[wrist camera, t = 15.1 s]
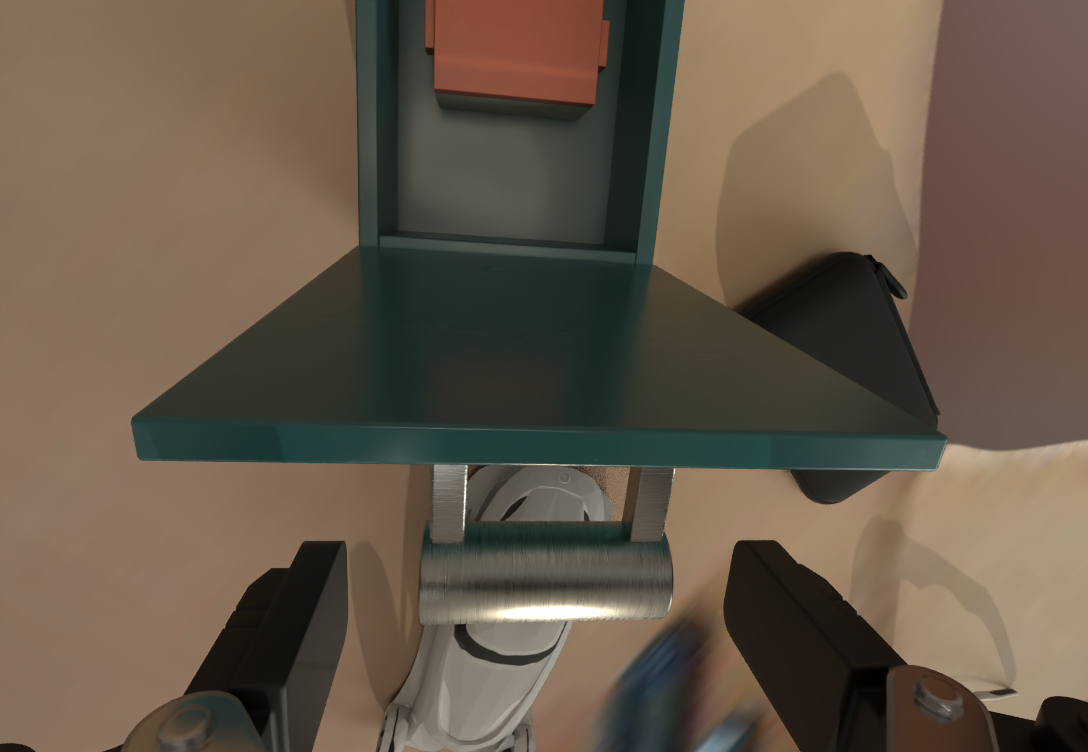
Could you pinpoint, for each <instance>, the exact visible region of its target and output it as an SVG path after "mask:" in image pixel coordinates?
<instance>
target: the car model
mask: <svg viewBox="0 0 1088 752" xmlns="http://www.w3.org/2000/svg"><path fill="white" fill-rule="evenodd" d="M466 521H612V505H611V501H610V499H609V497H608V496H607V495H606V494H605V493H604V492H603V491H601V490H600V488H599V486H598V485H597V483H596V482H595V480H594V479H593V478H592V477H590V476H589V475H587V474H584V473H582V472H580V471H578V470H576V469H573V468H569V467H565V466H502V465H487V466H485V467H484V468H482V469H480V470H478V471H477V472H476V473H475V474H474V475H473V476H472V477H471V478H470V480H469V481H468V492H467V516H466ZM572 623H573V621H555V622H515V623H475V624H435V625H424V630H423V634H422V639H421V642H420V646H419V650H418V653H417V657H416V660H415V662H414V665H413V668H412V670H411V673H410V675H409V677H408V679H407V680H406V682H405V684H404V686H403V687H402V689H401V691H400V692H399V694H398V695H397V696H396V698H395V699H394V700H393V702H391V703H390V704H389V705H388V707H387V709H386V712H385V715H384V719H383V722H382V726H381V730H380V734H379V738H378V742H377V747H376V752H403V749H404V745H408V746H411V747H413V748H416V749H419V750H422V751H433V752H436V751H438V750H441V749H443V748H445V747H446V748H448V749H450V750H452V751H454V752H535V738H534V732H533V729H532V726H531V718H530V710H531V704H532V703H533V701H534V699H535V697H536V696H537V694H538V692H539V690H540V689H541V687H542V685H543V683H544V682H545V680H546V678H547V676H548V675H549V673H550V671H551V669H552V668H553V666H554V664H555V661H556V659H557V657H558V655H559V653H560V651H561V649H562V647H563V645H564V643H565V640H566V638H567V635H568V633H569V630H570V628H571V625H572Z"/></svg>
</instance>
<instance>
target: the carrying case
mask: <svg viewBox="0 0 1088 752" xmlns="http://www.w3.org/2000/svg"><path fill="white" fill-rule="evenodd" d="M891 293H892V294H893V295H894V296H895V297H897V298H899V299H906V298H907V293H906V291H905V289H904V288H903V287H902V286H901V284H900V283H899V282H898V281H897V280H896V279H895V277H894V276H893V275H892V274H891V273H890V272H889V271H888V269H887V268H886V267H885V266H884V264H883V263H880V262H877V261H876V260H875V259H874V258H873V256H872V255H864V256H863V255H861V254H858V253H854V252H837V253H834V254H831V255H829V256H827V257H825V258H824V259H822V260H820V261H819V262H817V263H816V264H814V265H813V266H811V267H810V268H808V269H806V270H805V271H803V272H802V273H800V274H799V275H797V276H795V277H794V278H792V279H791V280H789V281H788V282H786V283H785V284H783V285H781V286H780V287H778V288H777V289H775V290H774V291H772V292H770V293H769V294H767V295H766V296H764V297H763V298H761V299H760V300H758V301H756V302H755V303H753V304H752V305H750V306H749V307H747V308H745V309H744V310H742V311H741V312H740V313H739V315H741V316H743V317H744V318H746V319H748V320H750V321H751V322H753V323H755V324H756V325H758V326H760V327H761V328H763V329H765V330H767V331H768V332H770V333H772V334H773V335H775V336H777V337H779V338H780V339H782V340H784V341H785V342H787V343H789V344H790V345H792V346H794V347H796V348H797V349H799V350H801V351H802V352H804V353H806V354H807V355H809V356H811V357H813V358H814V359H816V360H818V361H819V362H821V363H823V364H825V365H826V366H828V367H830V368H831V369H833V370H835V371H836V372H838V373H840V374H842V375H843V376H845V377H847V378H848V379H850V380H852V381H854V382H855V383H857V384H859V385H860V386H862V387H864V388H865V389H867V390H869V391H871V392H872V393H874V394H876V395H877V396H879V397H881V398H882V399H884V400H886V401H888V402H889V403H891V404H893V405H894V406H896V407H898V408H900V409H901V410H903V411H905V412H906V413H908V414H910V415H911V416H913V417H915V418H917V419H918V420H920V421H922V422H923V423H925V424H927V425H929V426H930V427H932V428H934V429H935V430H937V425H938V419H937V416H938V415H940V411H939V410H938V408H937V407H936V404H935V402H934V400H933V397H932V395H931V392H930V389H929V387H928V385H927V382H926V380H925V377H924V375H923V372H922V370H921V368H920V365H919V362H918V360H917V358H916V355H915V352H914V350H913V348H912V345H911V343H910V340H909V338H908V335H907V333H906V330H905V328H904V325H903V323H902V320H901V318H900V315H899V313H898V311H897V308H896V306H895V303H894V301H893V298H892V296H891ZM790 471H791V473H792V475H793V477H794V479H795V480H796V482H797V484H798V486H799V487H800V489H801V491H802V492H803V493H804V495H805V496H806V497H807V498H809V499H810V500H812V501H814V502H816V503H820V504H835V503H839V502H841V501H843V500H845V499H847V498H848V497H850V496H852V495H853V494H855V493H856V492H858V491H860V490H861V489H863V488H865V487H866V486H868V485H869V484H871V483H873V482H874V481H876V480H878V479H879V478H881V477H882V476H884V475H886V474H887V473H889V472H891V471H867V470H794V469H790Z"/></svg>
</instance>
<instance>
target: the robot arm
mask: <svg viewBox="0 0 1088 752" xmlns="http://www.w3.org/2000/svg"><path fill="white" fill-rule="evenodd" d="M723 611H724V620H725V624H726V628H727V630H728V633H729V635H730V637H731V638H732V640H733V642H734V643H735V645H736V646H737V648H738V650H739V651H740V653H741V655H742V656H743V658H744V660H745V661H746V663H747V664H748V666H749V668H750V669H751V671H752V673H753V674H754V676H755V678H756V679H757V681H758V683H759V684H760V686H761V687H762V689H763V691H764V692H765V694H766V696H767V697H768V699H769V701H770V702H771V704H772V705H773V707H774V709H775V710H776V712H777V714H778V715H779V717H780V719H781V720H782V722H783V724H784V725H785V727H786V728H787V730H788V732H789V733H790V735H791V737H792V738H793V740H794V742H795V743H796V745H797V746H798V748H799V750H800V751H801V752H1088V703H1087V702H1085V701H1082V700H1078V699H1075V698H1070V697H1062V696H1054V697H1049V698H1047V699H1045V700H1044V701H1043V703H1042V705H1041V708H1040V710H1039V713H1038V716H1037V718H1036V721H1033V720H1028V719H1024V718H1019V717H1014V716H1010V715H1005V714H1001V713H996V712H991V711H988V710H987V708H986V707H985V705H984V704H983V703H982V702H981V700H980V699H979V698H978V697H977V696H976V695H974V694H973V693H972V692H971V691H970V690H968V689H967V688H966V687H964V686H963V685H961V684H960V683H958V682H957V681H955V680H953V679H952V678H950V677H948V676H946V675H944V674H942V673H939V672H937V671H934V670H931V669H928V668H925V667H921V666H915V665H908V664H907V663H906V662H905V661H904V660H903V659H902V658H901V657H900V656H899V655H898V654H897V653H896V652H895V651H894V650H893V649H892V648H891V647H890V646H889V645H888V643H887V642H886V641H885V640H884V639H883V638H882V637H881V636H880V635H879V634H878V633H877V632H876V631H875V630H874V629H873V628H872V627H871V626H870V625H869V624H868V623H867V622H866V621H865V620H864V619H863V618H862V617H861V616H860V615H859V616H858V615H857V611H856V610H855V609H854V608H853V607H852V606H851V605H850V604H849V603H848V602H847V601H846V600H845V601H843V597H842V596H841V595H840V594H839V593H838V592H837V591H836V590H835V589H834V588H833V587H832V585H831V584H830V583H829V582H828V581H827V580H826V579H824V578H823V577H821V576H820V575H818V574H816V573H815V572H813V571H812V570H810V569H809V568H807V567H805V566H804V565H802V564H798V563H797V562H796V561H795V560H794V559H793V558H792V557H791V556H790V555H789V554H788V552H787V551H786V550H785V549H784V548H783V547H782V546H781V545H780V544H779V543H778V542H776V541H774V540H741V541H738V542H737V543H736V545H735V547H734V550H733V555H732V560H731V566H730V571H729V576H728V582H727V587H726V593H725V598H724V606H723ZM347 622H348V581H347V549H346V543H345V541H304V542H303V543H302V545H301V547H300V549H299V550H298V552H297V554H296V556H295V558H294V560H293V562H292V564H291V566H290V568H271V569H270V570H268V571H267V572H266V573H265V574H263V575H262V576H261V577H260V578H258V579H257V580H256V581H255V582H253V583H252V584H251V585H250V586H249V587H248V588H247V590H246V592H245V593H244V595H243V597H242V598H241V600H240V602H239V603H238V605H237V607H236V611H233V613H232V615H231V616H230V618H229V620H228V621H227V623H226V627H225V629H223V630H222V631H221V633H220V635H219V636H218V638H217V640H216V641H215V643H214V645H213V646H212V648H211V650H210V651H209V653H208V655H207V656H206V658H205V660H204V661H203V663H202V665H201V666H200V668H199V670H198V671H197V673H196V675H195V676H194V678H193V680H192V681H191V683H190V685H189V686H188V688H187V690H186V691H185V693H184V695H183V696H181V697H179V698H176V699H174V700H172V701H170V702H168V703H166V704H164V705H162V706H160V707H159V708H157V709H156V710H154V711H153V712H151V713H150V714H149V715H147V716H146V717H145V718H144V719H143V720H142V721H140V722H139V723H138V724H137V725H136V726H135V728H134V729H133V730H132V731H131V732H130V734H129V735H128V737H127V738H126V740H125V742H124V744H122V745H120V746H117V747H115V748H112V749H109V750H106V751H103V752H312V749H313V746H314V742H315V739H316V736H317V732H318V729H319V726H320V722H321V719H322V716H323V712H324V709H325V705H326V702H327V699H328V695H329V692H330V689H331V685H332V682H333V679H334V675H335V672H336V669H337V665H338V662H339V659H340V655H341V652H342V649H343V645H344V641H345V636H346V630H347ZM0 752H35V751H34V750H33V749H31V748H30V747H28V746H25V745H22V744H15V743H6V744H0Z"/></svg>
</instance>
